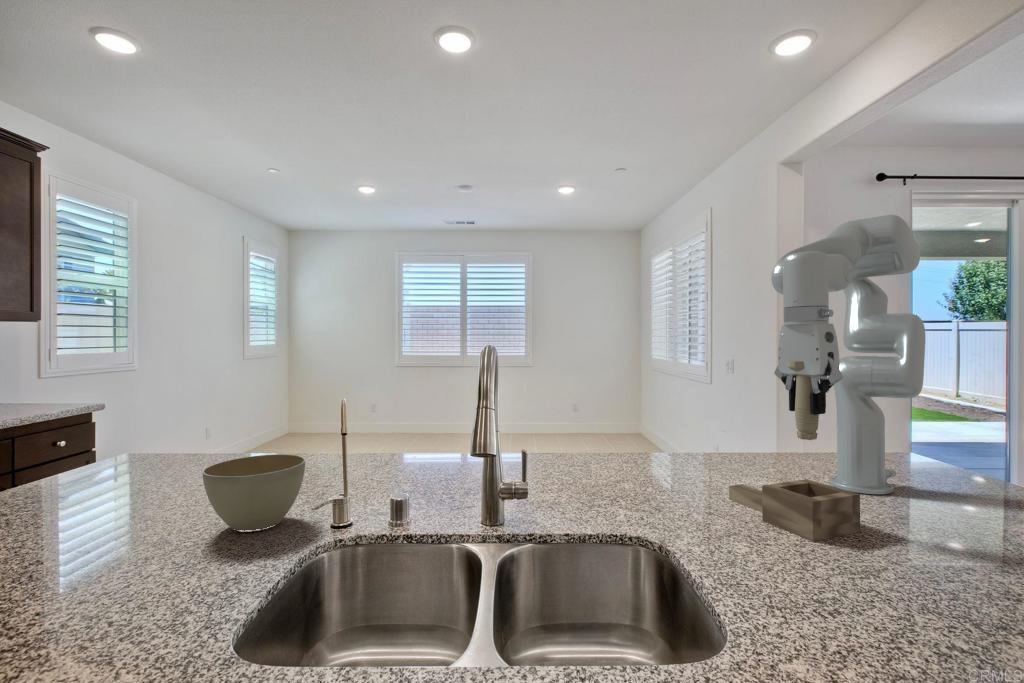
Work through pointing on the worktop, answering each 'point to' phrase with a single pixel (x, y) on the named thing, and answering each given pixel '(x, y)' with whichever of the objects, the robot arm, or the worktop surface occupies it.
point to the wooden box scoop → (803, 507)
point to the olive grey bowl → (254, 489)
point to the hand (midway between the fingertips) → (806, 411)
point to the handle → (804, 404)
